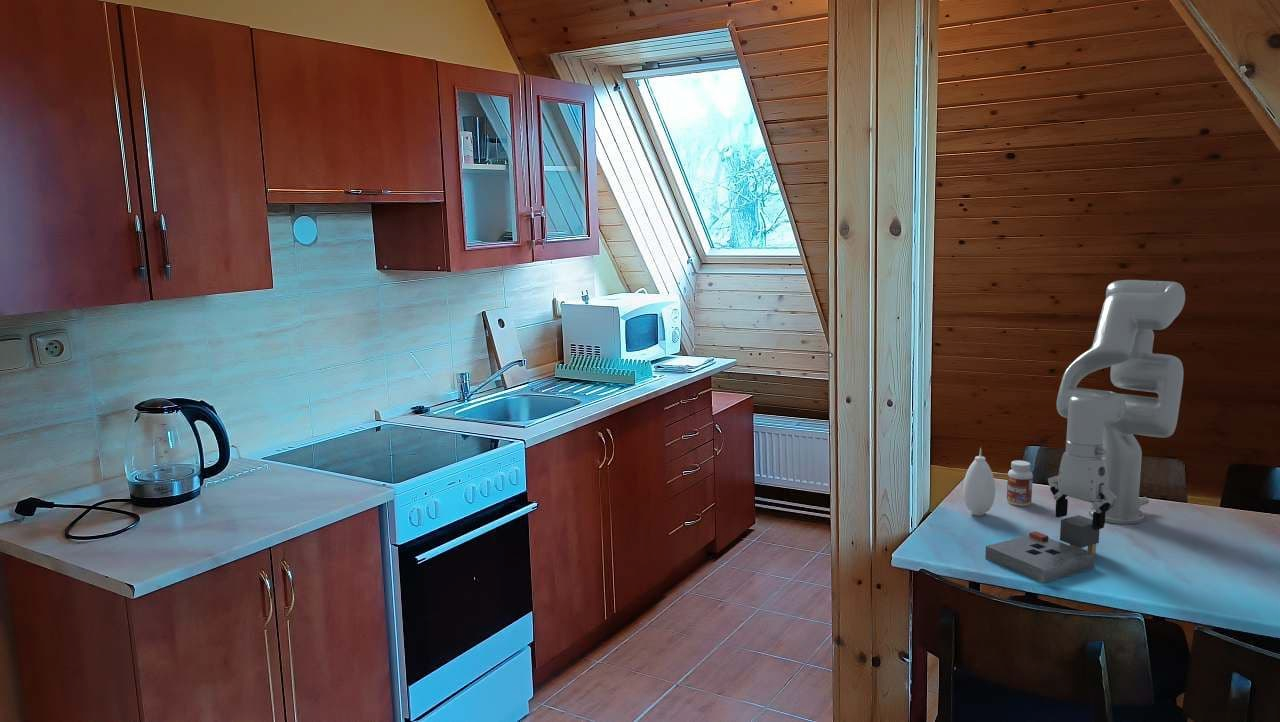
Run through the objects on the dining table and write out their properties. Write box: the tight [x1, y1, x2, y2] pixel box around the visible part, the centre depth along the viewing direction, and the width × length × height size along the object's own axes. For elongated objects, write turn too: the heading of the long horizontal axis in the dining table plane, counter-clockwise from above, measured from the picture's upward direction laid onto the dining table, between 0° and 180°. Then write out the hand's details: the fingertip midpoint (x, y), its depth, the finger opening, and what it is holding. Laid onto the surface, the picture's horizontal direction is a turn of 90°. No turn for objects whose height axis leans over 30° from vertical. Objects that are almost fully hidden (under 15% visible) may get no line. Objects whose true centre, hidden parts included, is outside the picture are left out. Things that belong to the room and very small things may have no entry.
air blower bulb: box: [962, 446, 996, 517], centre depth 239 cm, size 8×8×18 cm
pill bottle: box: [1006, 459, 1034, 507], centre depth 247 cm, size 6×6×11 cm
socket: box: [984, 530, 1096, 584], centre depth 208 cm, size 16×16×4 cm
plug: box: [1059, 514, 1101, 555], centre depth 213 cm, size 6×6×8 cm
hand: (1079, 522), depth 212 cm, fingers open, 9 cm apart
